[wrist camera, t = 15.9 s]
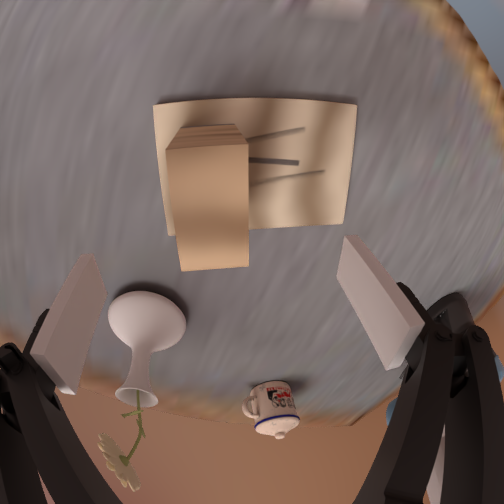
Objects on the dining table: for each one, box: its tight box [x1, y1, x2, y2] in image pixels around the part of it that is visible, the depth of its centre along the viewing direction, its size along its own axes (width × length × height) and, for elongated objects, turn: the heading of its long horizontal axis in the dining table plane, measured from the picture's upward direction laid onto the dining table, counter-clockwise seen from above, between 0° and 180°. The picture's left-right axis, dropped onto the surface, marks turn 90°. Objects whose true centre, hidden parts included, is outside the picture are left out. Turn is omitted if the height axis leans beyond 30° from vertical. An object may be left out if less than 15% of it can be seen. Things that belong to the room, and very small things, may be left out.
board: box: [153, 98, 357, 236], centre depth 28 cm, size 20×14×2 cm
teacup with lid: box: [242, 381, 300, 439], centre depth 49 cm, size 12×9×12 cm
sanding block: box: [165, 124, 249, 271], centre depth 22 cm, size 9×5×10 cm, turn 0°
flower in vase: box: [98, 291, 186, 492], centre depth 28 cm, size 13×11×25 cm
